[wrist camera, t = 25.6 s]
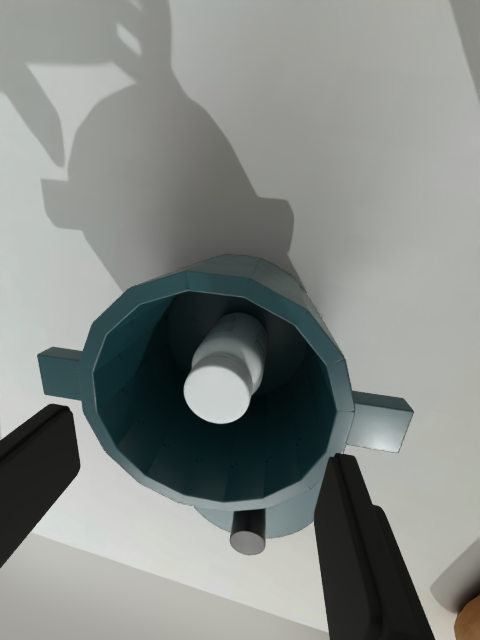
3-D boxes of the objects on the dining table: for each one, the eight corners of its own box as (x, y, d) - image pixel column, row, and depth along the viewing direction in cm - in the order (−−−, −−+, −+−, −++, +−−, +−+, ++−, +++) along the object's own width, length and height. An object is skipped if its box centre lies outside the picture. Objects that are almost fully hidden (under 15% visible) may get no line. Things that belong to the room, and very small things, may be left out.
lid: (187, 411, 24) (163, 462, 18) (337, 435, 22) (357, 497, 17) (184, 513, 28) (164, 577, 23) (309, 538, 27) (318, 612, 22)
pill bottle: (204, 347, 21) (162, 407, 13) (226, 301, 19) (193, 341, 12) (252, 372, 21) (235, 445, 13) (278, 328, 19) (276, 384, 12)
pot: (126, 242, 19) (-1, 249, 10) (371, 268, 18) (472, 303, 9) (133, 385, 23) (47, 478, 14) (333, 416, 22) (375, 542, 13)
